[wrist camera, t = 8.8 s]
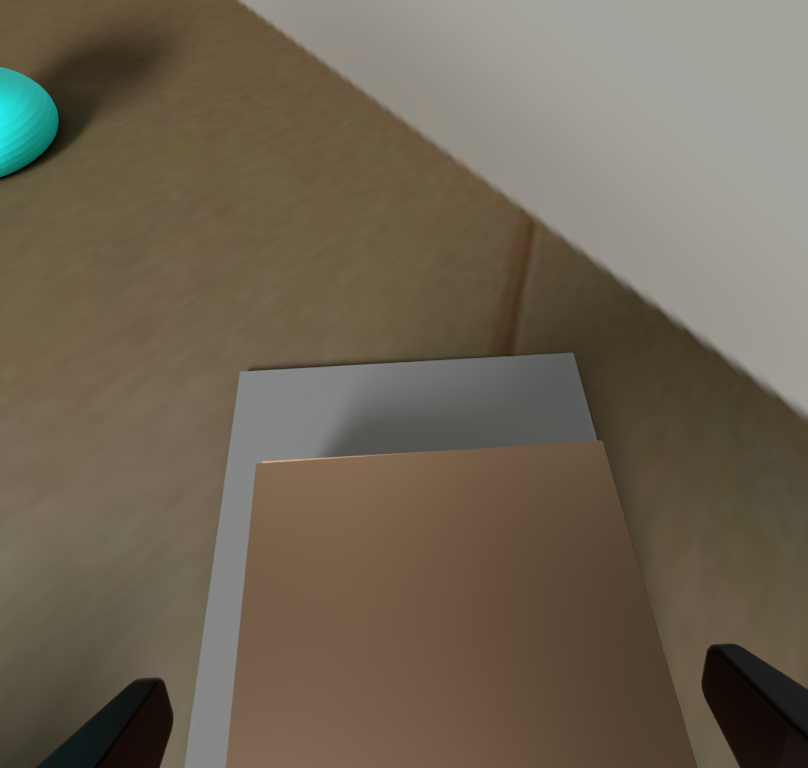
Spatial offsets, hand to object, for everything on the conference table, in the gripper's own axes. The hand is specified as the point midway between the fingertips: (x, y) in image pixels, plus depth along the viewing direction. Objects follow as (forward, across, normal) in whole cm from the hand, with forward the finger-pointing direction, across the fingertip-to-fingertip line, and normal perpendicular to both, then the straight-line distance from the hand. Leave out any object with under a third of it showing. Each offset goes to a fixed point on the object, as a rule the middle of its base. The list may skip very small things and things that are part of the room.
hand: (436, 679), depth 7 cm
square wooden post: (+7, 0, +6) cm, 9 cm away
